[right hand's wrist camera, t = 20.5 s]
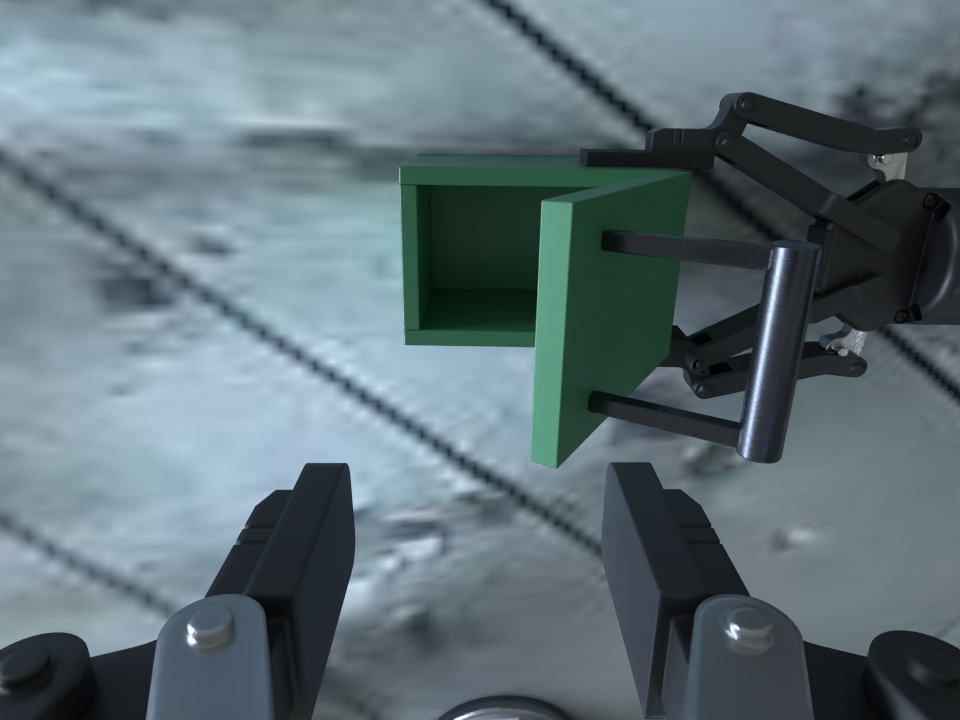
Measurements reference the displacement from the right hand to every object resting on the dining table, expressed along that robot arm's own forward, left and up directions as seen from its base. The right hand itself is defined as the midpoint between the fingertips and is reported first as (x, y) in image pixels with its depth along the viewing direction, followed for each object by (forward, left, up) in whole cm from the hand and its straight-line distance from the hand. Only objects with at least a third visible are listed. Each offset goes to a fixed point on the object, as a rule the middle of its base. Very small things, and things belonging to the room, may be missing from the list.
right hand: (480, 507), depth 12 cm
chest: (0, +3, -33) cm, 33 cm away
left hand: (+1, +5, -26) cm, 27 cm away
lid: (+1, +5, -17) cm, 18 cm away
